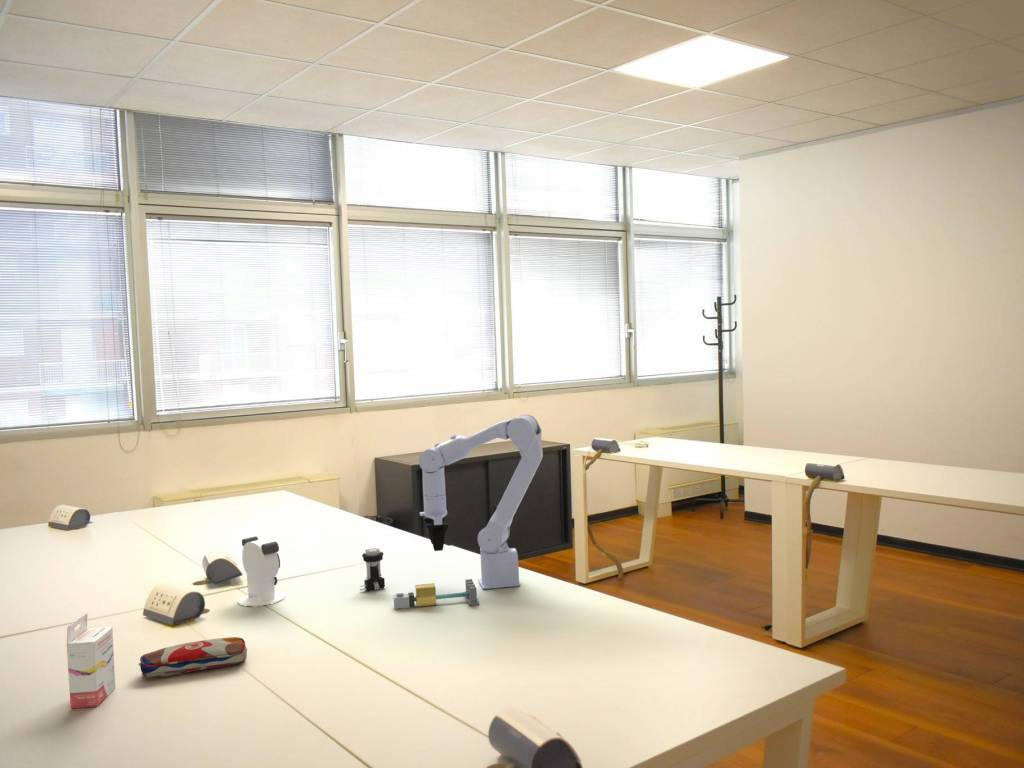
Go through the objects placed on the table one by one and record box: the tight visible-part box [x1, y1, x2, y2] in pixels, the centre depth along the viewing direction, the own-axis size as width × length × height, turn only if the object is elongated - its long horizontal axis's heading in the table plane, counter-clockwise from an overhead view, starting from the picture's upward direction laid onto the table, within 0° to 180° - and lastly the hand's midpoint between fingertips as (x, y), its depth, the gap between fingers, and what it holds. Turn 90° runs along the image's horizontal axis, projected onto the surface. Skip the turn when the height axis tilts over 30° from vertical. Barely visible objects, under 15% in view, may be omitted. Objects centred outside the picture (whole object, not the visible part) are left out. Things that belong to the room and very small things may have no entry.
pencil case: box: [138, 636, 248, 679], centre depth 165 cm, size 11×20×5 cm, turn 95°
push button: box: [359, 547, 386, 592], centre depth 214 cm, size 7×5×10 cm
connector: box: [393, 592, 410, 610], centre depth 199 cm, size 4×3×3 cm
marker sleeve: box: [414, 582, 437, 608], centre depth 200 cm, size 4×3×4 cm
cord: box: [414, 591, 468, 602], centre depth 200 cm, size 16×1×1 cm, turn 101°
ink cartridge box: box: [66, 613, 116, 709], centre depth 152 cm, size 9×5×15 cm, turn 5°
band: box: [407, 591, 416, 608], centre depth 199 cm, size 1×3×3 cm, turn 10°
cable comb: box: [464, 578, 480, 607], centre depth 202 cm, size 2×9×4 cm, turn 11°
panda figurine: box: [237, 535, 286, 607], centre depth 209 cm, size 12×11×15 cm
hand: (437, 547), depth 217 cm, fingers open, 7 cm apart
